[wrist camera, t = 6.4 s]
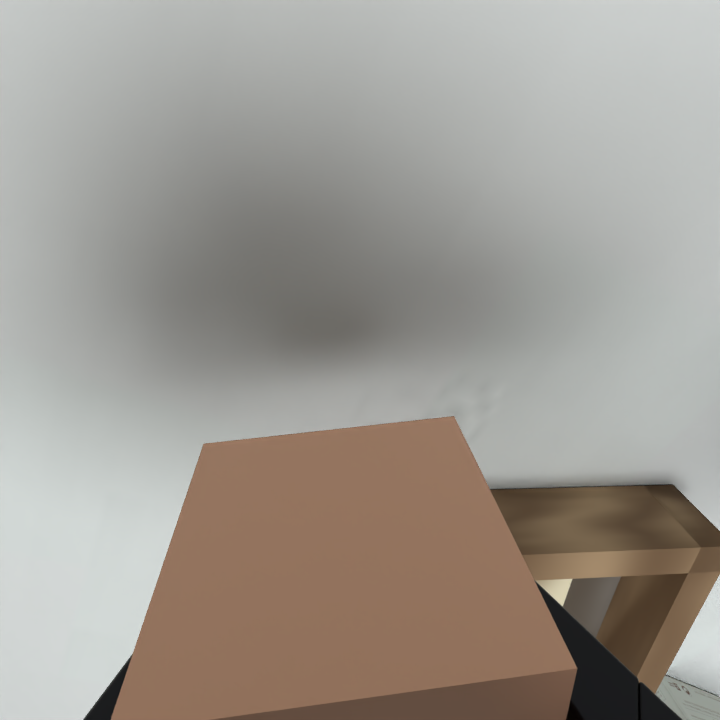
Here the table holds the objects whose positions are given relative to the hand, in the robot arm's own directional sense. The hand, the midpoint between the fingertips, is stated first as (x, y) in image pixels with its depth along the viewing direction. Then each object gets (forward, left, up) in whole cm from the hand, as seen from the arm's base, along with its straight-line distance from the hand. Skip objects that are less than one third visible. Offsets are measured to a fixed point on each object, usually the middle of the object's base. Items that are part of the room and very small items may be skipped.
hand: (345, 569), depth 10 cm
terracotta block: (0, 0, -1) cm, 1 cm away
